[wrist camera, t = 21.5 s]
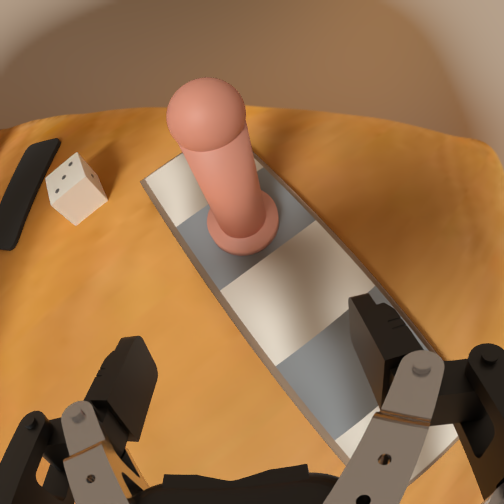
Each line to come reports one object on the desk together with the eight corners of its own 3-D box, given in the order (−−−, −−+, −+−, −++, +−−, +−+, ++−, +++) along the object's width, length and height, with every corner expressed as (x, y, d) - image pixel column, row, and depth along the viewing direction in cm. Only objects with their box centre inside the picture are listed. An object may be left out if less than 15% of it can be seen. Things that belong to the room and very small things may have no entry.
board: (379, 503, 14) (383, 508, 13) (142, 185, 26) (137, 179, 25) (476, 413, 15) (483, 414, 14) (226, 130, 27) (224, 122, 26)
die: (76, 226, 25) (50, 204, 22) (68, 199, 27) (44, 177, 23) (109, 200, 26) (86, 174, 22) (98, 175, 27) (77, 150, 24)
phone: (-16, 245, 27) (28, 144, 32) (-12, 248, 27) (31, 148, 33) (12, 249, 25) (61, 136, 31) (17, 252, 26) (65, 140, 31)
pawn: (235, 269, 20) (167, 148, 10) (198, 220, 22) (124, 94, 11) (293, 227, 21) (282, 83, 10) (252, 183, 23) (216, 44, 12)
